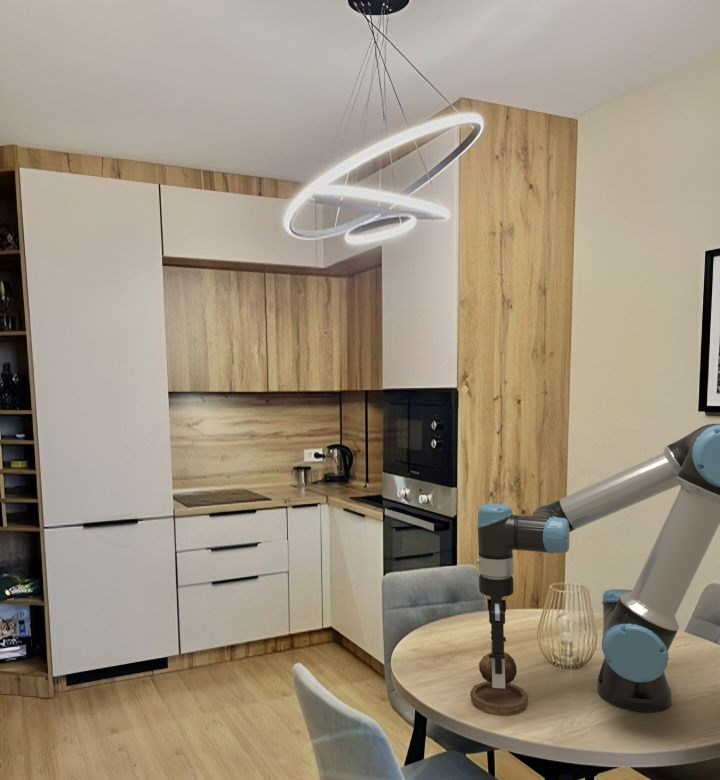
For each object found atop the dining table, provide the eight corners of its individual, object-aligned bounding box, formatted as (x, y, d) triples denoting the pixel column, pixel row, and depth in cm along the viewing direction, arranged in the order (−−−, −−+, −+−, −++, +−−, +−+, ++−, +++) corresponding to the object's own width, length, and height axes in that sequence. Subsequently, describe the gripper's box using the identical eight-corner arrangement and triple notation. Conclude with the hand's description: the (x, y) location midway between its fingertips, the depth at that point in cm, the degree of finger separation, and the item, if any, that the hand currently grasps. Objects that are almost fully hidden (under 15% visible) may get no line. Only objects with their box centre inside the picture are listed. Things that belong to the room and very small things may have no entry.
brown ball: (492, 653, 140) (493, 638, 136) (522, 675, 135) (524, 659, 131) (472, 678, 135) (472, 663, 132) (502, 702, 130) (503, 686, 127)
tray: (538, 704, 131) (538, 696, 131) (500, 721, 125) (499, 712, 125) (497, 684, 141) (497, 676, 141) (460, 698, 135) (460, 690, 135)
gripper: (479, 563, 144) (481, 659, 144) (478, 587, 125) (480, 699, 124) (511, 564, 143) (513, 661, 142) (515, 588, 123) (518, 702, 123)
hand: (498, 679), depth 133 cm, fingers closed on brown ball, 7 cm apart
